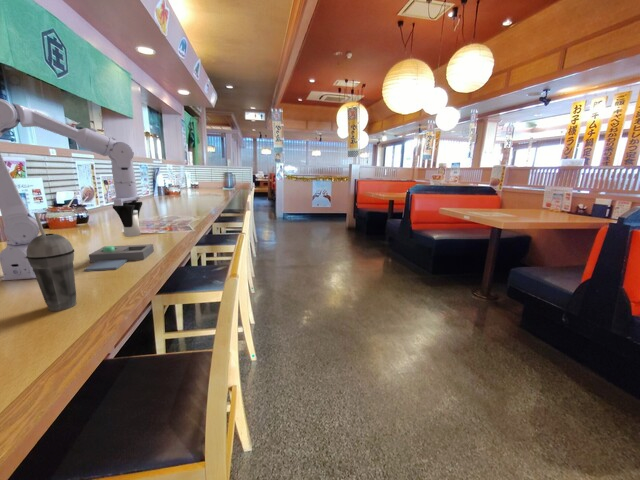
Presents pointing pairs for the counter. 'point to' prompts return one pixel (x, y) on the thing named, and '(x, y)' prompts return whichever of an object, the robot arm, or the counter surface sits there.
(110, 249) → the release button
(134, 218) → the cylinder
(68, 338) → the counter surface
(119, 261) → the mat
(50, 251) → the beverage cup
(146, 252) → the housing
